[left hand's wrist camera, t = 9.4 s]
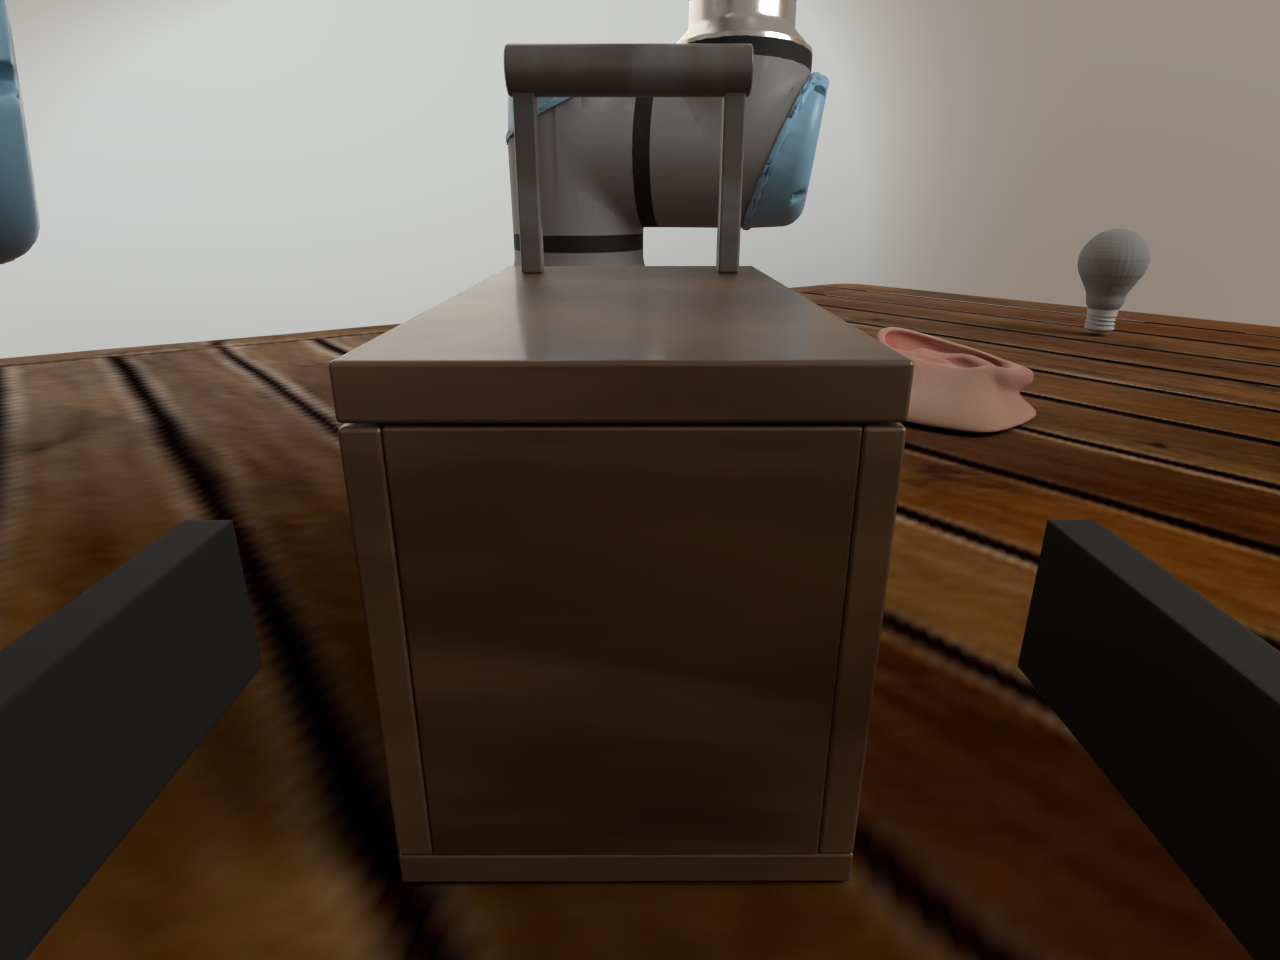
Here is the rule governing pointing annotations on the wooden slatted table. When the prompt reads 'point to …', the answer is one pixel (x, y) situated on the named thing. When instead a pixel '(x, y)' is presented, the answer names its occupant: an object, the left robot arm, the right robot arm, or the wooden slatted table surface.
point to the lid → (624, 301)
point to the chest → (623, 642)
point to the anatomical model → (960, 384)
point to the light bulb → (1110, 274)
